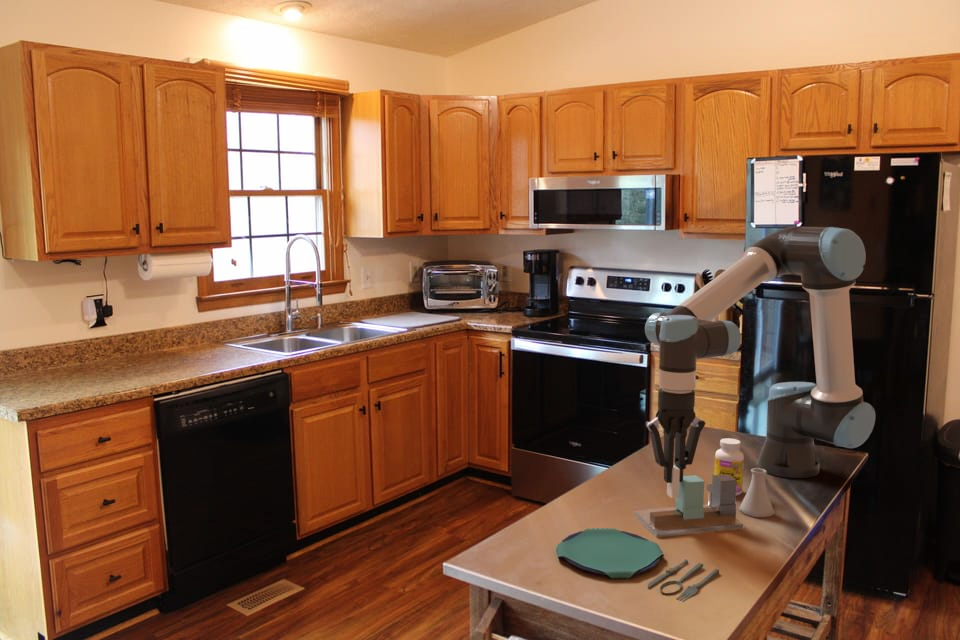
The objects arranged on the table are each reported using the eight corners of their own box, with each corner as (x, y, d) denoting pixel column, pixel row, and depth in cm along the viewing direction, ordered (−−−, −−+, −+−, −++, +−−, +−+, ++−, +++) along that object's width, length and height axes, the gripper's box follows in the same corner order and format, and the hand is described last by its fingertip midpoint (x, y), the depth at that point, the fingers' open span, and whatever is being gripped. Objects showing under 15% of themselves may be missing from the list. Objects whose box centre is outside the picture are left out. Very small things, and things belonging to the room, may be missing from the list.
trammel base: (715, 508, 186) (717, 464, 184) (743, 529, 174) (745, 481, 173) (634, 515, 182) (635, 470, 180) (656, 537, 170) (658, 489, 169)
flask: (733, 509, 186) (735, 467, 184) (758, 504, 188) (761, 463, 187) (754, 520, 179) (756, 477, 178) (780, 516, 182) (783, 473, 180)
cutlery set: (596, 529, 175) (596, 519, 175) (726, 574, 155) (727, 563, 155) (538, 560, 161) (539, 549, 160) (674, 614, 141) (675, 602, 140)
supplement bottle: (713, 495, 194) (716, 444, 192) (712, 486, 200) (715, 436, 198) (743, 498, 192) (745, 446, 190) (741, 488, 199) (743, 437, 197)
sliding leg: (685, 508, 182) (686, 468, 180) (703, 523, 174) (705, 481, 172) (667, 509, 181) (668, 470, 180) (684, 524, 173) (686, 483, 171)
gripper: (696, 383, 175) (692, 487, 179) (640, 386, 172) (637, 492, 176) (713, 391, 168) (709, 500, 171) (655, 394, 165) (651, 505, 169)
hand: (672, 496), depth 174 cm, fingers closed
